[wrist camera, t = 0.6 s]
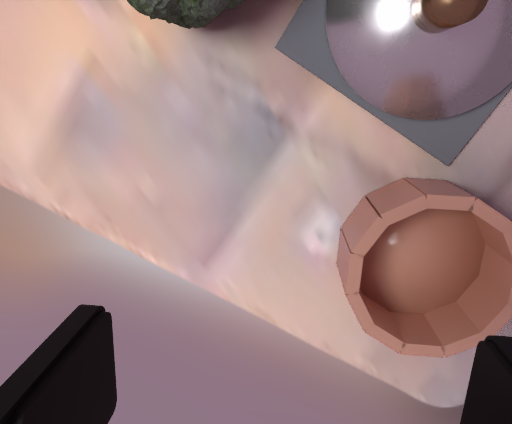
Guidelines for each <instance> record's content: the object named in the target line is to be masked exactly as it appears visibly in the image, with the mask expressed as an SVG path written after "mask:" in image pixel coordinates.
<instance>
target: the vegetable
mask: <svg viewBox="0 0 512 424" xmlns="http://www.w3.org/2000/svg"><path fill="white" fill-rule="evenodd" d="M127 1H128V2H129V4H130V5H131V6H132V7H134V8H135V9H136V10H137V11H138V12H140V13H142V14H144V15H147V16H150V18H151V19H155V18H158V19H162V20H166V21H167V22H168V23H174V24H177V25H179V26H182V27H185V28H188V29H190V28H192V27H194V28H198V27H205V26H207V25H208V24H209V23H210V22H211V21H212V20H213V19H214V18H215V17H217V16H219V15H220V14H221V13H222V12H223V11H224V9H225V8H228V9H232V8H235V7H237V5H240V4H242V3H243V2H244V1H245V0H127Z"/></svg>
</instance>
